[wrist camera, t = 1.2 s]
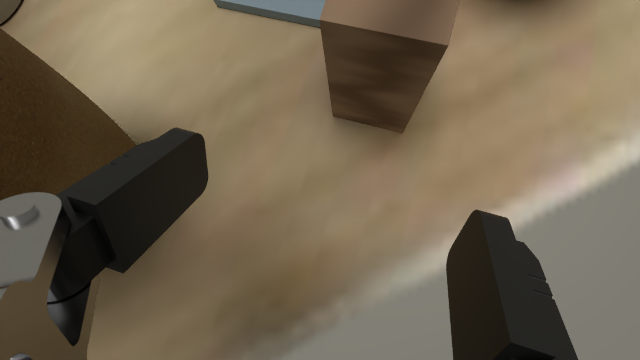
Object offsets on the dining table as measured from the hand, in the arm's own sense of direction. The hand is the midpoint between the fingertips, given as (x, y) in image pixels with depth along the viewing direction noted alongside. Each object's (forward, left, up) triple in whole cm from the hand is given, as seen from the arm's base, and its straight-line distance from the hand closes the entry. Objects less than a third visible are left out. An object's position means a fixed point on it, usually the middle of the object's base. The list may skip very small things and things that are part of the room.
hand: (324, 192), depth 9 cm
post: (-3, +11, -16) cm, 19 cm away
